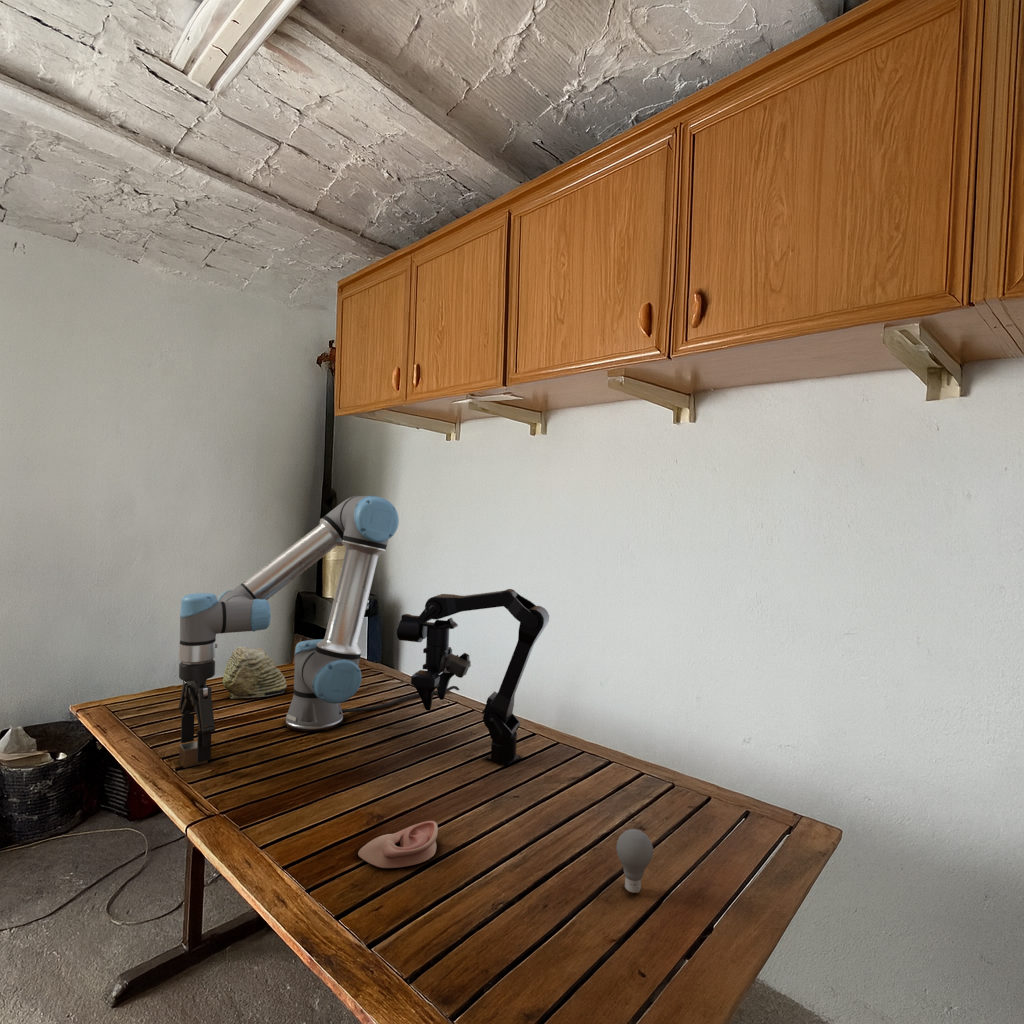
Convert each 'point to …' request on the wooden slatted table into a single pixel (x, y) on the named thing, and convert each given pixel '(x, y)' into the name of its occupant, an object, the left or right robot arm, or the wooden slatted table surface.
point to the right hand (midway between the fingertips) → (435, 704)
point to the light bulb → (634, 857)
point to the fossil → (252, 674)
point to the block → (189, 755)
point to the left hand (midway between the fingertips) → (195, 751)
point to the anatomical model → (402, 846)
